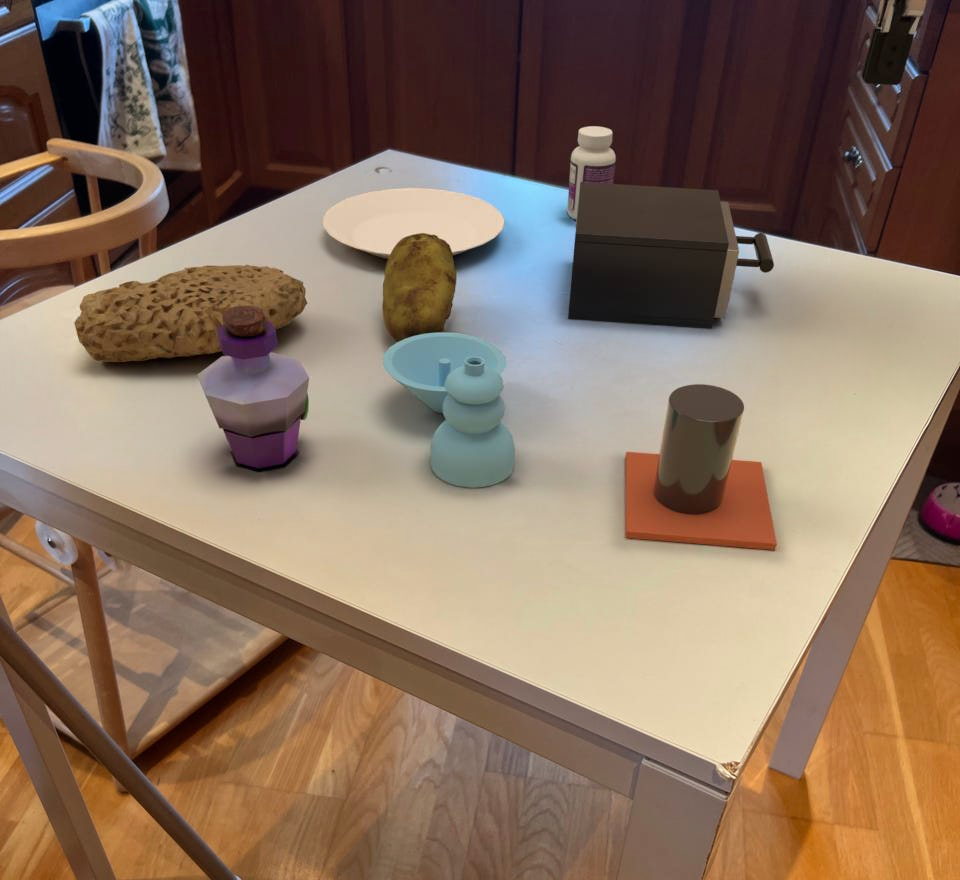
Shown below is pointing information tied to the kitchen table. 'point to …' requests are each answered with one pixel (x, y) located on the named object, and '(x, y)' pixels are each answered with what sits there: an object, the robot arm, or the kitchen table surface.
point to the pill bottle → (590, 163)
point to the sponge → (181, 311)
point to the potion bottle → (256, 391)
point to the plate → (412, 219)
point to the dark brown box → (647, 255)
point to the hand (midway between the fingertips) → (880, 81)
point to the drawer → (732, 259)
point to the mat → (728, 525)
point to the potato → (418, 286)
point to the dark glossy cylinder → (697, 448)
